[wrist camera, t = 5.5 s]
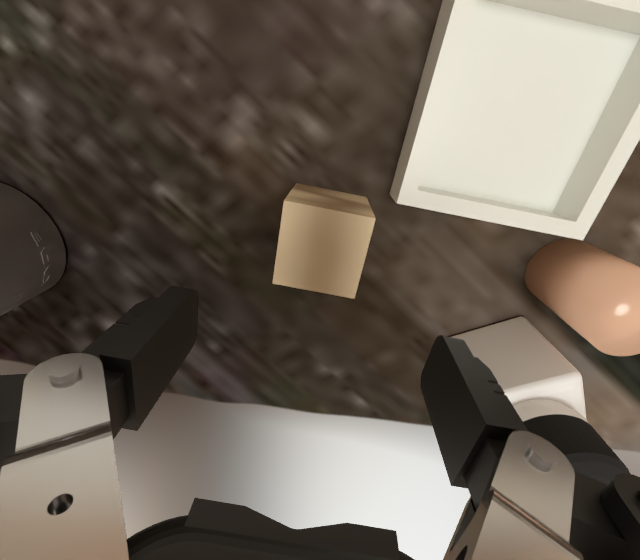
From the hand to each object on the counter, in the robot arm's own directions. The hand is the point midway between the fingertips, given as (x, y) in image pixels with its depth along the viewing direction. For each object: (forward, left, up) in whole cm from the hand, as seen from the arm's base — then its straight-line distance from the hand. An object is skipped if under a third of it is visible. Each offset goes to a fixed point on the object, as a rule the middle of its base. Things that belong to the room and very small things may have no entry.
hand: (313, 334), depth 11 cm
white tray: (+10, +9, -14) cm, 19 cm away
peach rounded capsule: (+18, 0, -14) cm, 23 cm away
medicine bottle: (+16, -9, -14) cm, 23 cm away
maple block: (0, 0, -14) cm, 14 cm away
